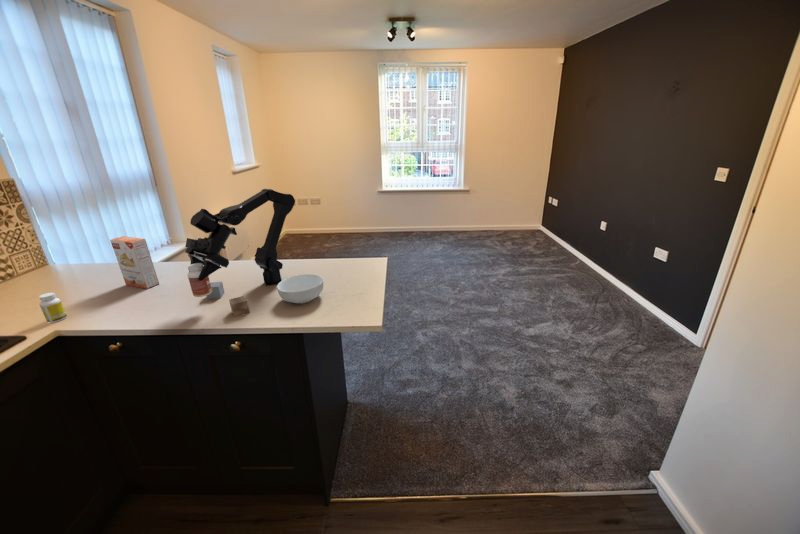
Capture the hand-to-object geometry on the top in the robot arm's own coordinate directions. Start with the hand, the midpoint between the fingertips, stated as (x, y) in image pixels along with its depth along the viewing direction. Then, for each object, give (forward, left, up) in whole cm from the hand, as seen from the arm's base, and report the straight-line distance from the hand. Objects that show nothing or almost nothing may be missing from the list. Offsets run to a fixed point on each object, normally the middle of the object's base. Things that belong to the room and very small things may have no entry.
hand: (194, 278), depth 124 cm
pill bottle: (-1, -1, -7) cm, 7 cm away
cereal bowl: (-35, +4, -14) cm, 38 cm away
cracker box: (+29, -39, -13) cm, 51 cm away
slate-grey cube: (-3, -13, -13) cm, 19 cm away
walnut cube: (-13, +6, -13) cm, 19 cm away
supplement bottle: (+49, -15, -13) cm, 53 cm away
